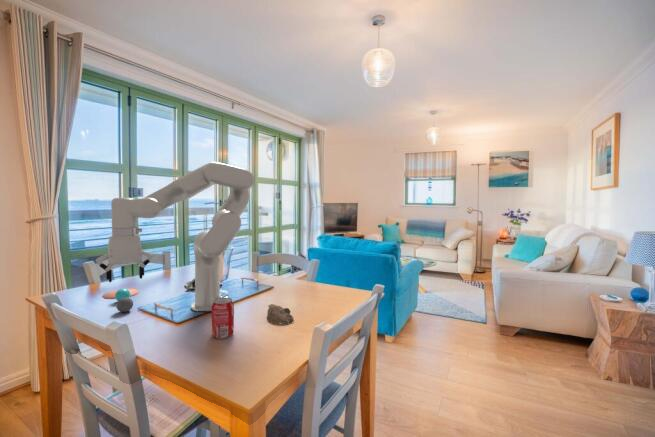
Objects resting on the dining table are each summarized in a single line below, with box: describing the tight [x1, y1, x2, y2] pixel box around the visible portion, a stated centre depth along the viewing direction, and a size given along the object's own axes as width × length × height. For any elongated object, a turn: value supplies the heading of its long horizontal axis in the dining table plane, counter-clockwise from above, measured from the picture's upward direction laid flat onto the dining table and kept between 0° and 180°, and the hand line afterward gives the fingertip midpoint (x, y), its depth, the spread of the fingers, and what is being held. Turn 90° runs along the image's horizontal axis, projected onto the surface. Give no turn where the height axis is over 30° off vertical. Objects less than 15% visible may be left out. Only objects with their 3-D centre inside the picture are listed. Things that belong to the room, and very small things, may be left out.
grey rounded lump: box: [115, 297, 134, 313], centre depth 118 cm, size 6×6×6 cm
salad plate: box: [184, 277, 223, 292], centre depth 156 cm, size 19×18×5 cm
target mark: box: [102, 288, 140, 300], centre depth 139 cm, size 14×14×1 cm
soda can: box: [211, 296, 235, 340], centre depth 100 cm, size 7×7×12 cm
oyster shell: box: [266, 303, 295, 325], centre depth 116 cm, size 10×12×5 cm
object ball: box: [115, 288, 131, 302], centre depth 129 cm, size 6×6×6 cm
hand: (125, 279), depth 109 cm, fingers open, 8 cm apart
